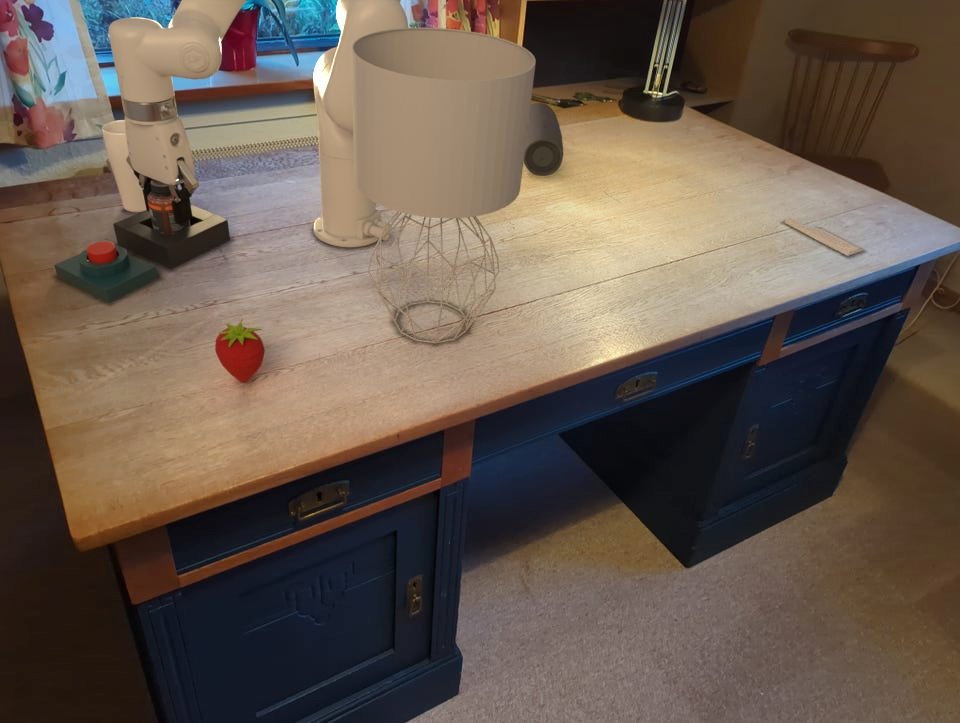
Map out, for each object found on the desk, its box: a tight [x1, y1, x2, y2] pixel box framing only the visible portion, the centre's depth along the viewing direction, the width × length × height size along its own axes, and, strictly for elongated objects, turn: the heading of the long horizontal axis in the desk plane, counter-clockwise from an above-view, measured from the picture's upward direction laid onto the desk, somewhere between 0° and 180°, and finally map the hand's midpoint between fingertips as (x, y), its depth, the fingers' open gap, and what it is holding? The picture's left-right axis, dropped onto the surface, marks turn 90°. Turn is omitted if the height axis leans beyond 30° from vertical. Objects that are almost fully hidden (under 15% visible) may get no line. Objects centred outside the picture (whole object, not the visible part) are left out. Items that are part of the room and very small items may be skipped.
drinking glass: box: [101, 119, 146, 213], centre depth 134 cm, size 7×7×15 cm
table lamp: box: [352, 27, 536, 344], centre depth 105 cm, size 22×22×40 cm
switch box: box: [53, 244, 159, 304], centre depth 118 cm, size 12×9×4 cm
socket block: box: [112, 204, 231, 270], centre depth 129 cm, size 13×13×4 cm
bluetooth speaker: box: [523, 102, 564, 177], centre depth 168 cm, size 23×9×10 cm, turn 179°
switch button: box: [86, 241, 117, 263], centre depth 117 cm, size 4×4×2 cm
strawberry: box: [214, 317, 265, 384], centre depth 99 cm, size 6×8×10 cm
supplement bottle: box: [147, 179, 191, 236], centre depth 126 cm, size 6×6×11 cm
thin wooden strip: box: [784, 217, 864, 257], centre depth 151 cm, size 5×15×1 cm, turn 33°
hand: (169, 214), depth 126 cm, fingers closed on supplement bottle, 6 cm apart
